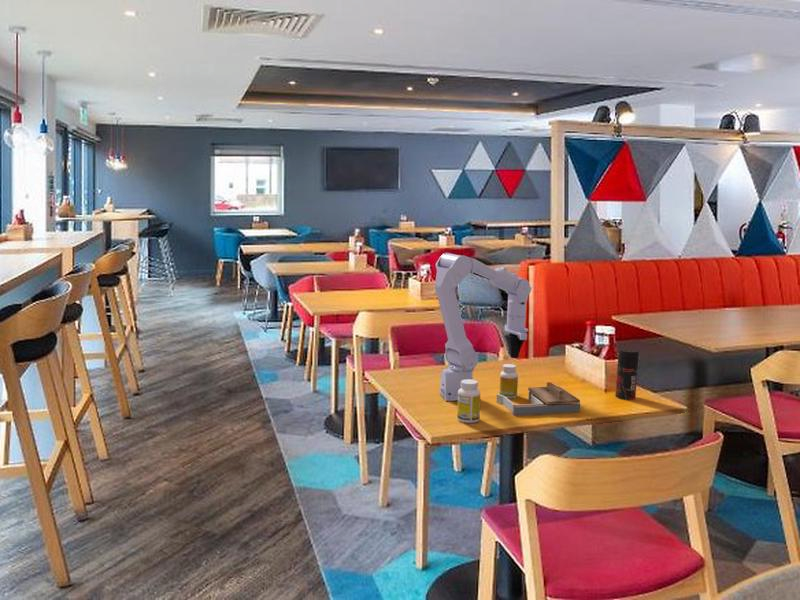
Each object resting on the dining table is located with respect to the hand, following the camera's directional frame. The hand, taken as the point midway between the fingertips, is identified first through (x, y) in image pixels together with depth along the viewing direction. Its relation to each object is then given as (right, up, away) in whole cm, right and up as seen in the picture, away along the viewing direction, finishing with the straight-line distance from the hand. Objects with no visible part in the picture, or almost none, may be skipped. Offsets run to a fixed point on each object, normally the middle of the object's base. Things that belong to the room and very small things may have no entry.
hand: (514, 357), depth 228 cm
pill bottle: (-17, -15, -29) cm, 37 cm away
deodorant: (+34, -12, -5) cm, 36 cm away
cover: (+9, -10, -16) cm, 21 cm away
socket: (+4, -13, -16) cm, 21 cm away
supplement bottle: (-3, -12, -6) cm, 14 cm away
